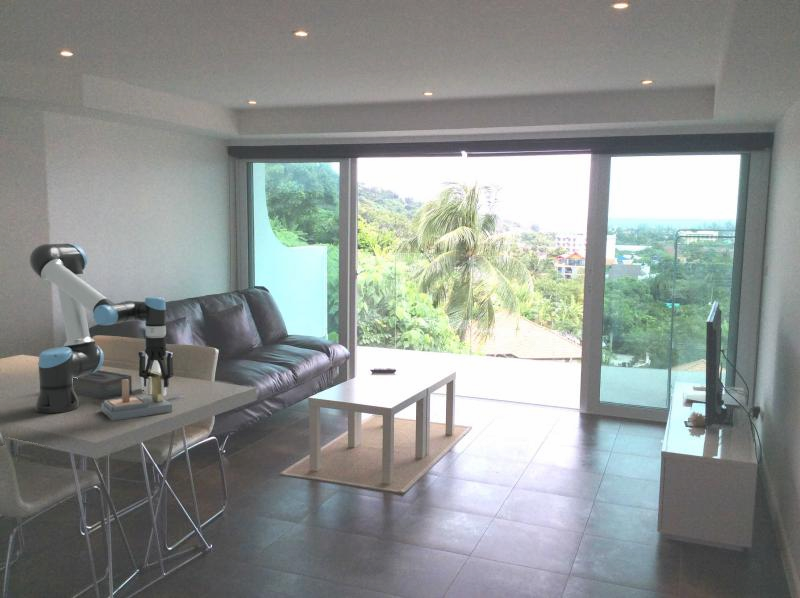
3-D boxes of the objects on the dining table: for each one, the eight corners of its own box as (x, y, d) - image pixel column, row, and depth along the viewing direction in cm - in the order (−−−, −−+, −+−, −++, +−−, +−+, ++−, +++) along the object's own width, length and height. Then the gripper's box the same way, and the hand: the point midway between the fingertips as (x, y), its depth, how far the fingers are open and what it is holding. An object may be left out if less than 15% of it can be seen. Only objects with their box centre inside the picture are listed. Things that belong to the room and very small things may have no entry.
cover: (115, 410, 252) (114, 383, 251) (108, 404, 260) (108, 379, 259) (143, 406, 258) (142, 380, 257) (135, 400, 266) (134, 375, 265)
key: (142, 397, 271) (141, 370, 269) (147, 396, 272) (147, 369, 271) (159, 402, 263) (159, 374, 262) (165, 401, 265) (164, 373, 264)
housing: (112, 420, 249) (112, 408, 248) (101, 411, 261) (101, 399, 261) (172, 411, 262) (171, 400, 261) (159, 403, 274) (158, 392, 274)
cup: (138, 391, 295) (137, 354, 293) (145, 386, 303) (144, 351, 301) (157, 391, 295) (156, 355, 293) (163, 386, 303) (162, 351, 302)
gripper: (128, 336, 260) (129, 396, 262) (174, 338, 258) (174, 398, 260) (138, 334, 268) (139, 392, 270) (182, 336, 266) (183, 394, 267)
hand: (156, 395), depth 265 cm, fingers closed on key, 6 cm apart
